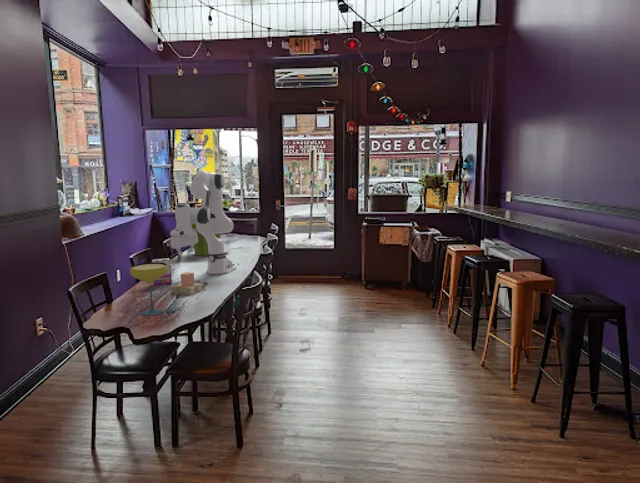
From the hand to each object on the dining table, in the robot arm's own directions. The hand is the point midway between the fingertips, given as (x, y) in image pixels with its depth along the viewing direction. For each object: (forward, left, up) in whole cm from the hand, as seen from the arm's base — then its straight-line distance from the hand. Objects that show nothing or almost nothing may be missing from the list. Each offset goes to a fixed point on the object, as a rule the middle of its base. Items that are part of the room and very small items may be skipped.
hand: (185, 253), depth 271 cm
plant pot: (-100, -67, -24) cm, 123 cm away
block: (0, 0, -19) cm, 19 cm away
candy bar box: (-8, -28, -24) cm, 38 cm away
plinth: (0, 0, -24) cm, 24 cm away
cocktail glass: (+39, +10, -24) cm, 47 cm away
